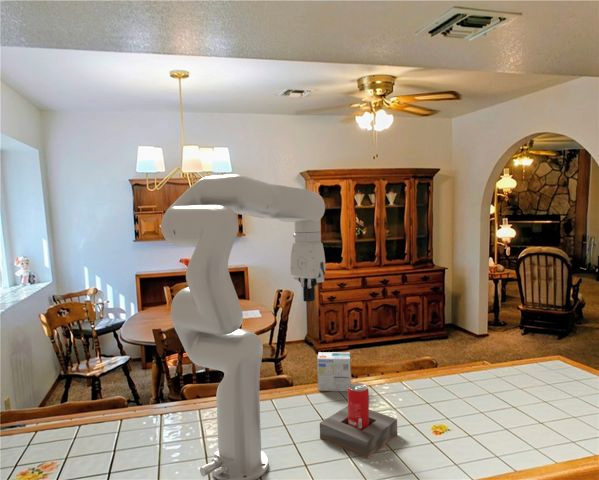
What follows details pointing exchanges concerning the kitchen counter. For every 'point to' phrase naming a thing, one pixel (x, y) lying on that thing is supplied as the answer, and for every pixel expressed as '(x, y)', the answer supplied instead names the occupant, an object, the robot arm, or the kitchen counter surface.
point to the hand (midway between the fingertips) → (309, 300)
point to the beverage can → (358, 406)
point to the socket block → (358, 432)
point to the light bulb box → (334, 371)
